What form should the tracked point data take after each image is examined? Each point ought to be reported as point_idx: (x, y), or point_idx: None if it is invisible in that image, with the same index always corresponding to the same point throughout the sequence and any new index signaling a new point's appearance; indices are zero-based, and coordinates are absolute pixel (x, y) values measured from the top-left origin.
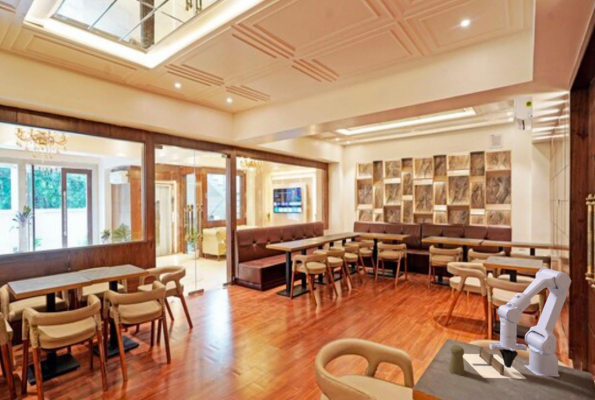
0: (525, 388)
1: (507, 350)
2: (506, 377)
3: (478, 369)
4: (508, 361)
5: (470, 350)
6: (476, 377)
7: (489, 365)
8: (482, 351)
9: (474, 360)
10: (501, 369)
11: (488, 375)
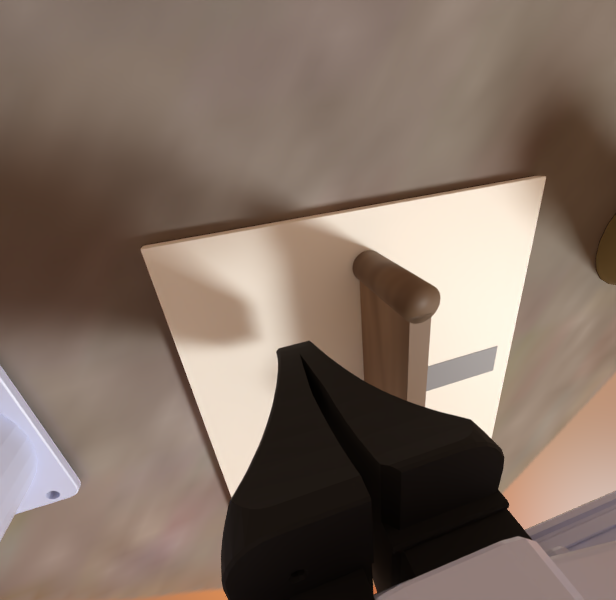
0: (235, 33)
1: (425, 551)
2: (350, 222)
3: (498, 302)
4: (338, 375)
5: None
6: (568, 189)
7: None
8: None
9: None
10: (408, 271)
11: (483, 225)
